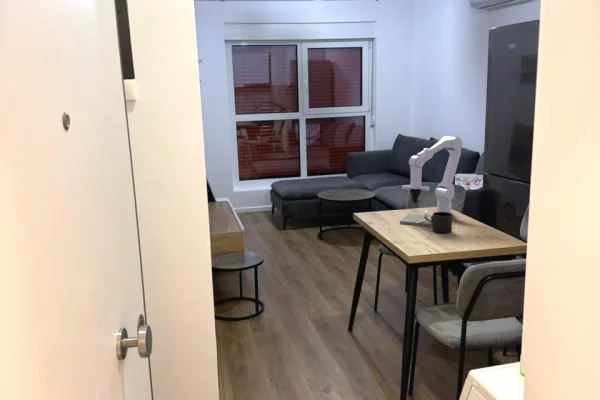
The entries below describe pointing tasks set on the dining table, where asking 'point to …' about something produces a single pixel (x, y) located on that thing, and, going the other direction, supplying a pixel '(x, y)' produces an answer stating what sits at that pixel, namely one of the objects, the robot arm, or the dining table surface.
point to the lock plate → (416, 220)
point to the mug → (442, 222)
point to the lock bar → (429, 215)
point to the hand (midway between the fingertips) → (415, 202)
